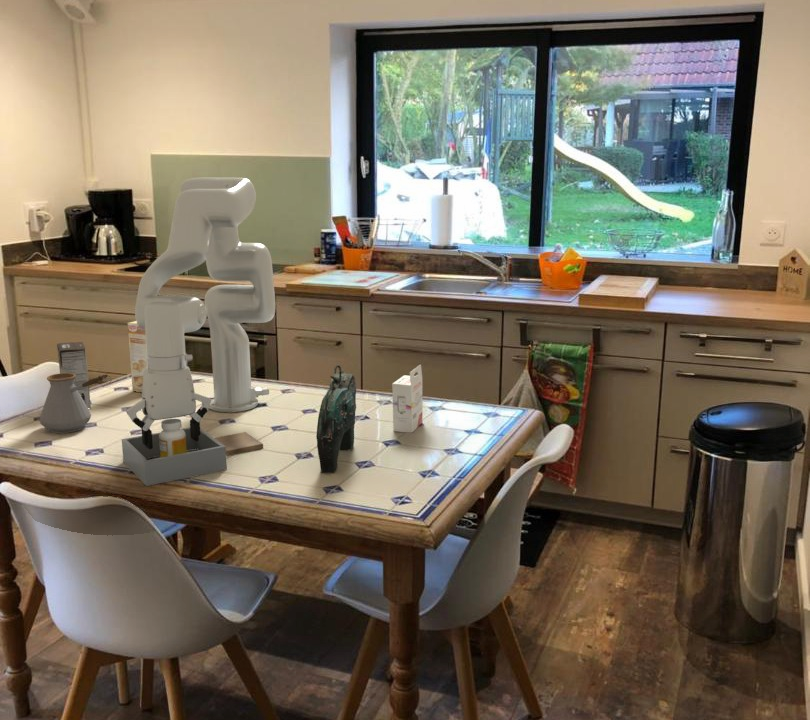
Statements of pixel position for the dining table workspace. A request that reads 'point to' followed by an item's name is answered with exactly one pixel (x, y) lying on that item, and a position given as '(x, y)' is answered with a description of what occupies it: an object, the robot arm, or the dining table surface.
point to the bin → (174, 458)
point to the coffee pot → (66, 404)
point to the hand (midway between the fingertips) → (172, 443)
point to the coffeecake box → (137, 354)
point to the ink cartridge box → (407, 402)
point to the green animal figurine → (336, 420)
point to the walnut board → (239, 443)
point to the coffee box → (75, 365)
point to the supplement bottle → (172, 438)
